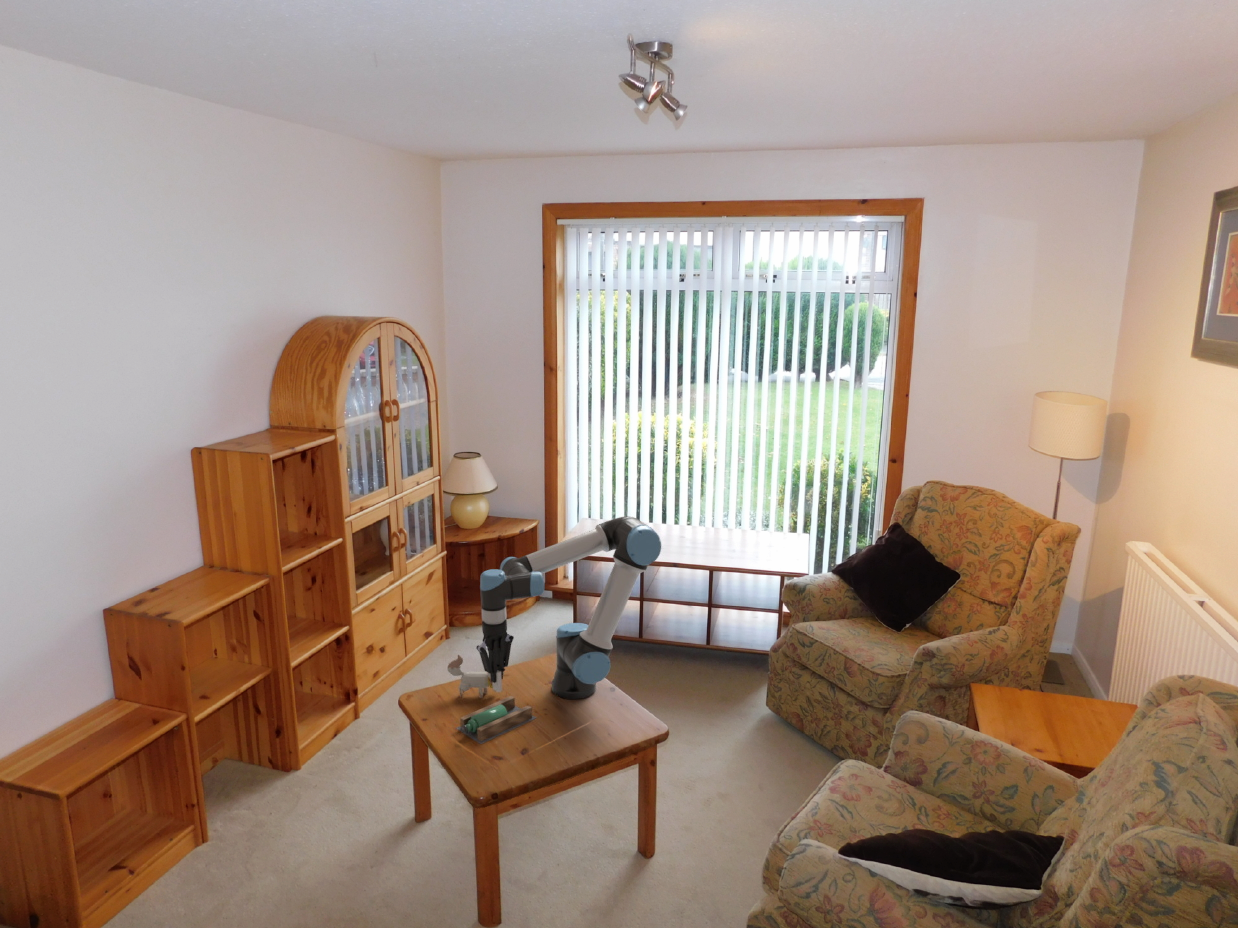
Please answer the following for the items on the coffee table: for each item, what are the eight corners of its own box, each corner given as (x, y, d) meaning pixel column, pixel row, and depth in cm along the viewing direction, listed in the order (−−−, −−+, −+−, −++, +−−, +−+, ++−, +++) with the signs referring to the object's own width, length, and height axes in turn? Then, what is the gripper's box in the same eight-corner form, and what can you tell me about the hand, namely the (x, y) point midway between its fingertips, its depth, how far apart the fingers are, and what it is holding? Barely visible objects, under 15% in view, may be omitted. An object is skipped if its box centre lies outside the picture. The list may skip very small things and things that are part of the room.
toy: (502, 703, 275) (501, 661, 271) (445, 702, 275) (443, 660, 272) (506, 690, 283) (505, 649, 280) (451, 689, 284) (449, 648, 280)
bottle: (497, 701, 264) (459, 717, 254) (508, 708, 260) (469, 725, 250) (497, 716, 265) (458, 733, 255) (507, 723, 262) (469, 741, 252)
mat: (511, 704, 274) (511, 703, 274) (536, 718, 265) (536, 717, 265) (455, 729, 259) (455, 727, 259) (480, 745, 250) (480, 744, 250)
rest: (511, 705, 272) (511, 695, 272) (532, 717, 265) (531, 707, 264) (460, 728, 258) (460, 717, 258) (481, 741, 251) (480, 730, 250)
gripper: (503, 610, 262) (506, 679, 267) (469, 622, 252) (473, 693, 258) (518, 616, 256) (521, 686, 262) (484, 629, 247) (487, 701, 253)
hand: (497, 689), depth 260 cm, fingers closed
